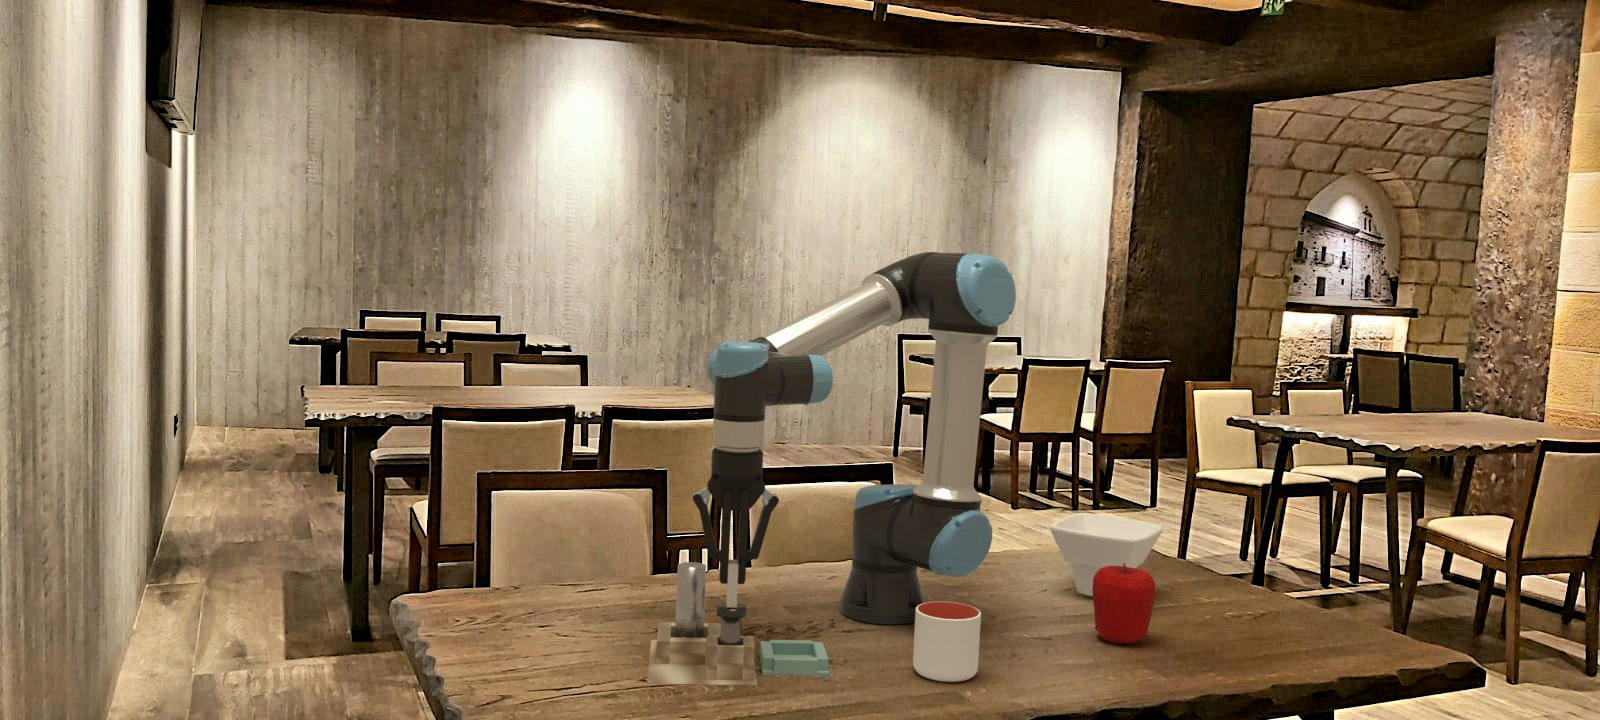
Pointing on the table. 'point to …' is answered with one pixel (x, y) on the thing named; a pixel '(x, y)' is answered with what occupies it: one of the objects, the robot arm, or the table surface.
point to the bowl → (1102, 544)
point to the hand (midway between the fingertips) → (731, 604)
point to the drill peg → (690, 600)
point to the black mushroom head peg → (730, 623)
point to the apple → (1123, 603)
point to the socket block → (700, 658)
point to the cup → (946, 641)
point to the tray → (793, 658)
